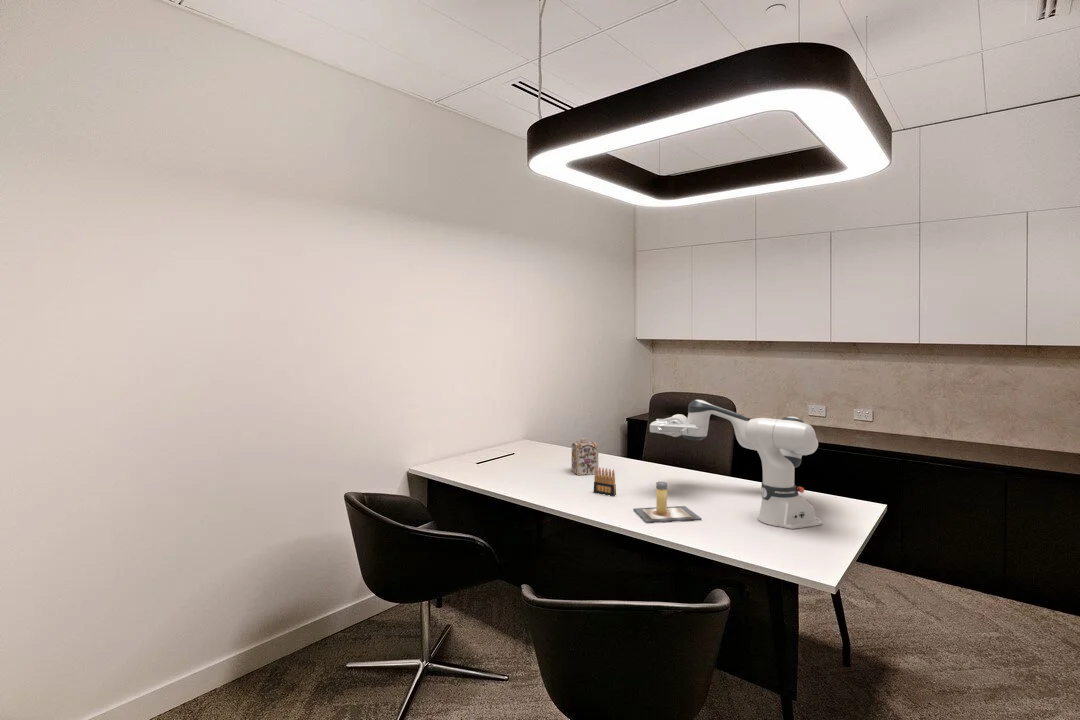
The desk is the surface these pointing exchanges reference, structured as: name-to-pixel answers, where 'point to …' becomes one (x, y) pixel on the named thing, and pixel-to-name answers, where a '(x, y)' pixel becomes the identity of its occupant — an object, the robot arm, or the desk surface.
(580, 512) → the desk surface
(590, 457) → the decorative jar
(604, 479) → the ammunition clip
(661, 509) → the marker
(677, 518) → the grey metal tray
